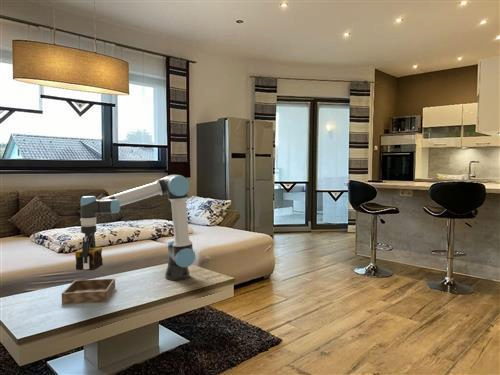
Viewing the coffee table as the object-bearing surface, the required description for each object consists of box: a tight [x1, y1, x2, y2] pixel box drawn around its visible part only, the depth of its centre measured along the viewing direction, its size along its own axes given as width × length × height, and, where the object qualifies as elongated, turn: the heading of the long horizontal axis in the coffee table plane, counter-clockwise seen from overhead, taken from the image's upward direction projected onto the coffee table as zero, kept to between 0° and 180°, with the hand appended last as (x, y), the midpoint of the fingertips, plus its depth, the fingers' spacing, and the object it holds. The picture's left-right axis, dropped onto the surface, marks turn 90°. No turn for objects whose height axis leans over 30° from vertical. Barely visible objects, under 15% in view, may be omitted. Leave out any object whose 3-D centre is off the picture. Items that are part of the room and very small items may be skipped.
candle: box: [75, 247, 103, 271], centre depth 200 cm, size 10×10×10 cm
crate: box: [61, 278, 116, 305], centre depth 202 cm, size 22×22×6 cm
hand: (89, 266), depth 201 cm, fingers closed on candle, 11 cm apart
